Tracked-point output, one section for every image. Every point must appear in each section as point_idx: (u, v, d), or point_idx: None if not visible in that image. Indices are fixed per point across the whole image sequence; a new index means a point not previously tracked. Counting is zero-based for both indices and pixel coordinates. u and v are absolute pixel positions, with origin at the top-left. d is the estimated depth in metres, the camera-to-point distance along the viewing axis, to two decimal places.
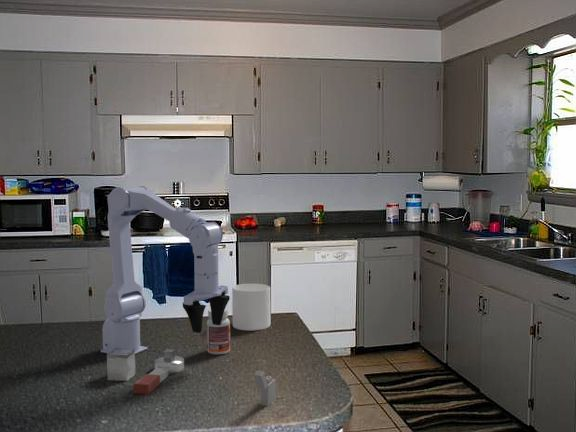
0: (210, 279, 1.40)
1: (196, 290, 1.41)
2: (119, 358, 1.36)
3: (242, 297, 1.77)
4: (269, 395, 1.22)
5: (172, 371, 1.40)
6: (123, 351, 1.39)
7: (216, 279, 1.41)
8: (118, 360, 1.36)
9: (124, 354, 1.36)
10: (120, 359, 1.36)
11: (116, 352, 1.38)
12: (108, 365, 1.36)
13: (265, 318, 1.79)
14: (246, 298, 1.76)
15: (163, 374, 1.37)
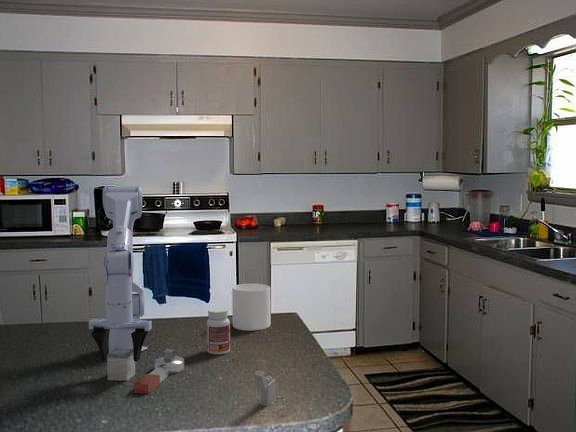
0: (109, 309, 1.35)
1: None
2: (119, 358, 1.36)
3: (242, 297, 1.77)
4: (269, 395, 1.22)
5: (172, 371, 1.40)
6: (123, 351, 1.39)
7: (116, 311, 1.35)
8: (118, 360, 1.36)
9: (124, 354, 1.36)
10: (120, 359, 1.36)
11: (116, 352, 1.38)
12: (108, 365, 1.36)
13: (265, 318, 1.79)
14: (246, 298, 1.76)
15: (163, 374, 1.37)
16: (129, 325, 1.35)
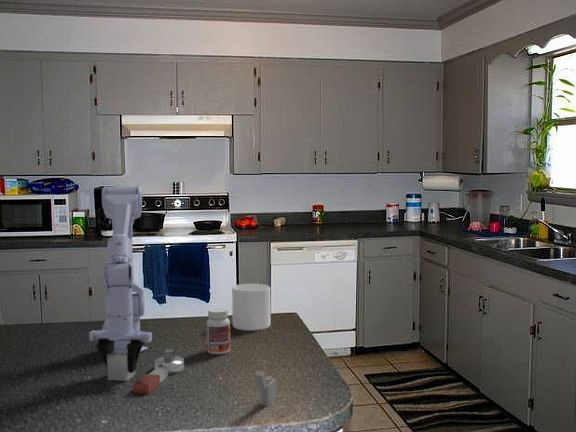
0: (109, 321, 1.35)
1: None
2: (119, 358, 1.36)
3: (242, 297, 1.77)
4: (269, 395, 1.22)
5: (172, 371, 1.40)
6: (123, 351, 1.39)
7: (116, 322, 1.35)
8: (118, 360, 1.36)
9: (124, 354, 1.36)
10: (120, 359, 1.36)
11: (116, 352, 1.38)
12: (108, 365, 1.36)
13: (265, 318, 1.79)
14: (246, 298, 1.76)
15: (163, 374, 1.37)
16: (129, 337, 1.35)
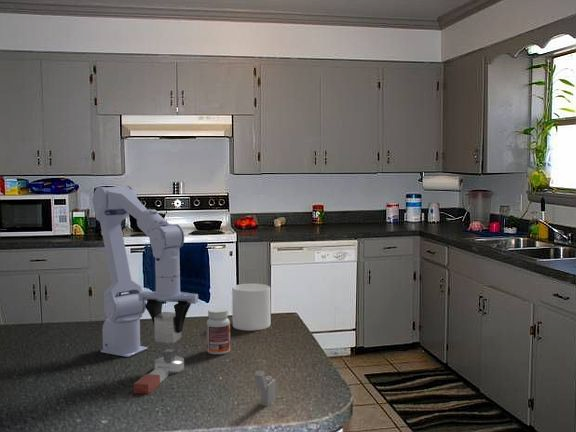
0: (158, 281, 1.40)
1: None
2: (166, 321, 1.40)
3: (242, 297, 1.77)
4: (269, 395, 1.22)
5: (172, 371, 1.40)
6: (170, 314, 1.42)
7: (164, 283, 1.39)
8: (165, 323, 1.40)
9: (170, 317, 1.40)
10: (167, 322, 1.40)
11: (163, 315, 1.42)
12: (155, 327, 1.41)
13: (265, 318, 1.79)
14: (246, 298, 1.76)
15: (163, 374, 1.37)
16: (176, 297, 1.39)
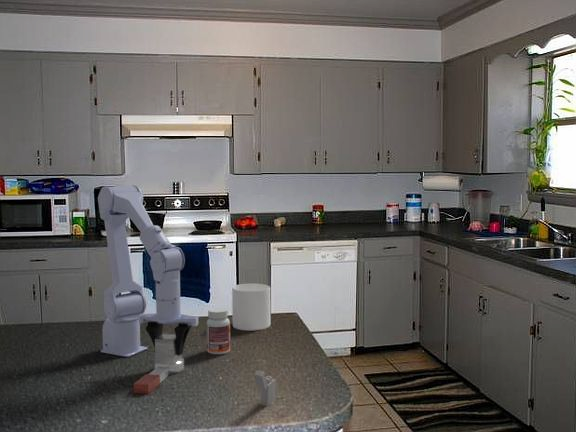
0: (158, 304, 1.40)
1: None
2: (166, 342, 1.40)
3: (242, 297, 1.77)
4: (269, 395, 1.22)
5: (172, 371, 1.40)
6: (170, 336, 1.43)
7: (164, 306, 1.39)
8: (165, 344, 1.40)
9: (171, 339, 1.41)
10: (167, 344, 1.40)
11: (164, 337, 1.43)
12: (156, 349, 1.41)
13: (265, 318, 1.79)
14: (246, 298, 1.76)
15: (163, 374, 1.37)
16: (177, 320, 1.40)
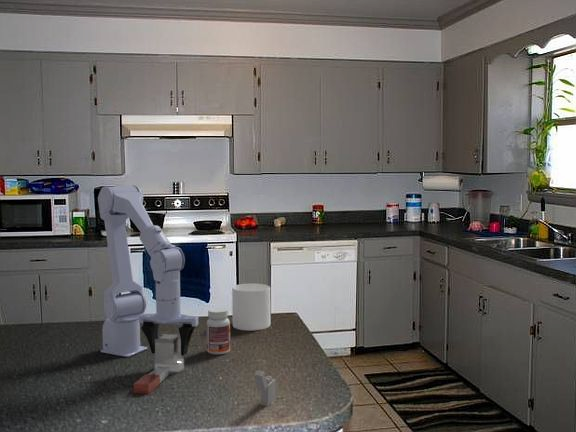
0: (158, 304, 1.40)
1: None
2: (166, 342, 1.40)
3: (242, 297, 1.77)
4: (269, 395, 1.22)
5: (172, 371, 1.40)
6: (170, 336, 1.43)
7: (164, 306, 1.39)
8: (165, 344, 1.40)
9: (171, 339, 1.41)
10: (167, 344, 1.40)
11: (164, 337, 1.43)
12: (156, 349, 1.41)
13: (265, 318, 1.79)
14: (246, 298, 1.76)
15: (163, 374, 1.37)
16: (177, 320, 1.40)
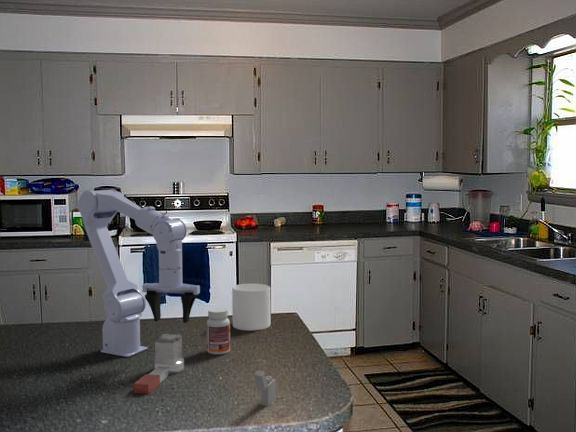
0: (161, 273, 1.45)
1: None
2: (166, 342, 1.40)
3: (242, 297, 1.77)
4: (269, 395, 1.22)
5: (172, 371, 1.40)
6: (170, 336, 1.43)
7: (167, 275, 1.45)
8: (165, 344, 1.40)
9: (171, 339, 1.41)
10: (167, 344, 1.40)
11: (164, 337, 1.43)
12: (156, 349, 1.41)
13: (265, 318, 1.79)
14: (246, 298, 1.76)
15: (163, 374, 1.37)
16: (179, 288, 1.45)
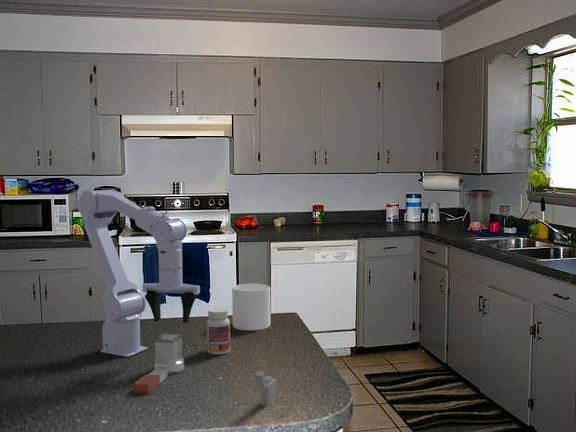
0: (161, 273, 1.45)
1: None
2: (166, 342, 1.40)
3: (242, 297, 1.77)
4: (269, 395, 1.22)
5: (172, 371, 1.40)
6: (170, 336, 1.43)
7: (167, 275, 1.45)
8: (165, 344, 1.40)
9: (171, 339, 1.41)
10: (167, 344, 1.40)
11: (164, 337, 1.43)
12: (156, 349, 1.41)
13: (265, 318, 1.79)
14: (246, 298, 1.76)
15: (163, 374, 1.37)
16: (179, 288, 1.45)
